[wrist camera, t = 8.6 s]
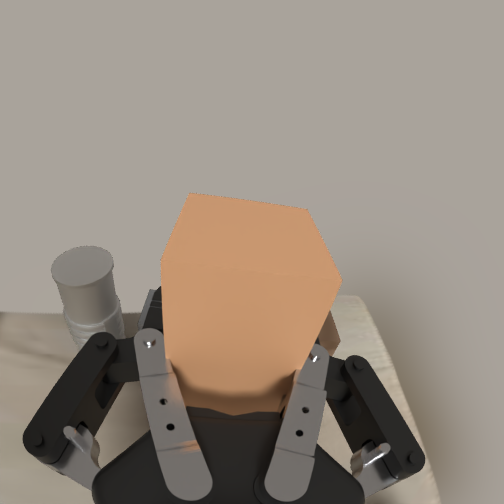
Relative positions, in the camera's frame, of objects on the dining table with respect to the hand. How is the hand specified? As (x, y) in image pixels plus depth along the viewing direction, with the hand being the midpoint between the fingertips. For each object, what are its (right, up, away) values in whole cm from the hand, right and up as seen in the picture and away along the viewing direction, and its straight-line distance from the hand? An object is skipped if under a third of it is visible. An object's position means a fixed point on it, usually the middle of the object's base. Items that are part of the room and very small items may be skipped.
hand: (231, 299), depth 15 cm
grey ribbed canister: (-18, -12, +17) cm, 28 cm away
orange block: (-1, -7, +1) cm, 7 cm away
